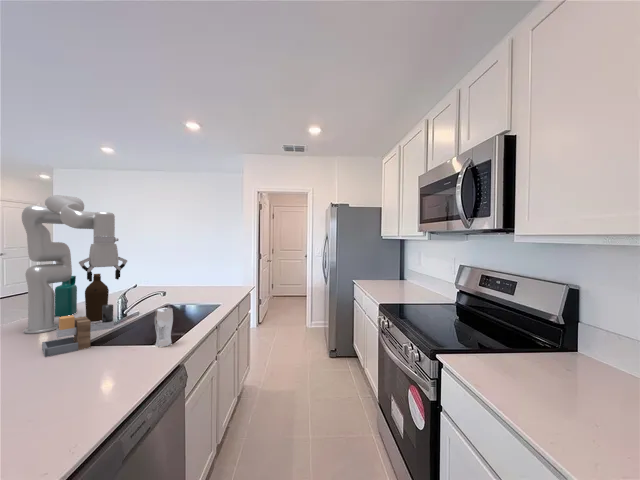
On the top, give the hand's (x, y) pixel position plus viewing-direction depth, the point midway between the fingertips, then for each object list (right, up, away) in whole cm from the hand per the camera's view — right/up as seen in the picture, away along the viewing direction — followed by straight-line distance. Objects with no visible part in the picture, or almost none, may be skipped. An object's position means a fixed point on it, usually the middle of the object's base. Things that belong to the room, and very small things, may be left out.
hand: (104, 280), depth 133 cm
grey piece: (-5, -21, -4) cm, 22 cm away
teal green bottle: (-54, -26, +45) cm, 75 cm away
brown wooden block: (-6, -27, -5) cm, 28 cm away
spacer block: (-9, -18, -9) cm, 22 cm away
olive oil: (-29, -26, +36) cm, 53 cm away
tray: (-11, -27, -10) cm, 30 cm away
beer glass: (+27, -27, -2) cm, 38 cm away
